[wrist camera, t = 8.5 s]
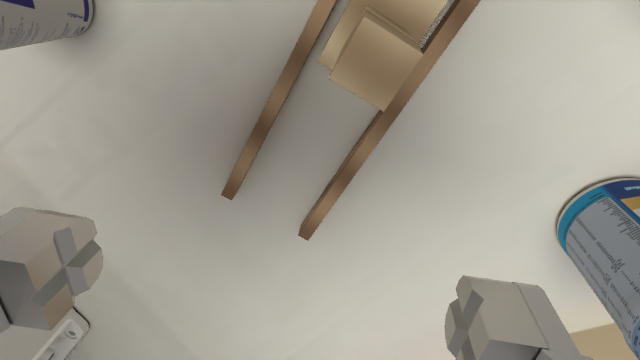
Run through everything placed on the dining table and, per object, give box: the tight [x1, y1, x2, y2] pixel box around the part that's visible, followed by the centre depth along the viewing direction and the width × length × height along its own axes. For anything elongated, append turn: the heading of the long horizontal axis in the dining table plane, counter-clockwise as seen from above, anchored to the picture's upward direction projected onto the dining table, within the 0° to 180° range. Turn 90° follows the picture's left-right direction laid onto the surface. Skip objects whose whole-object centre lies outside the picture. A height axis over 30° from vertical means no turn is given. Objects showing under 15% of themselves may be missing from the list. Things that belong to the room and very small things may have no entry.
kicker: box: [317, 0, 448, 112], centre depth 20 cm, size 9×5×10 cm, turn 151°
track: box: [221, 0, 480, 240], centre depth 26 cm, size 26×9×2 cm, turn 151°
